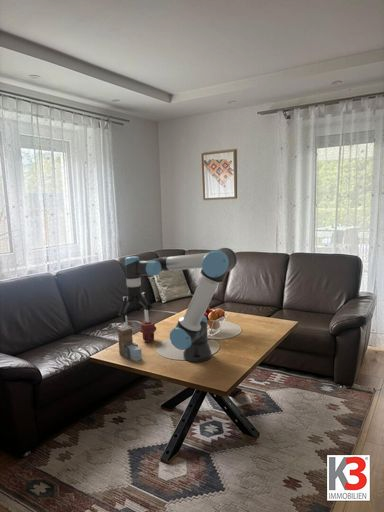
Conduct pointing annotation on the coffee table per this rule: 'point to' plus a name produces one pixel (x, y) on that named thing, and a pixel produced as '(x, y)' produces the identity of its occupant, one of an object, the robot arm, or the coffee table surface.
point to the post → (125, 341)
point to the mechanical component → (148, 331)
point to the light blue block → (134, 352)
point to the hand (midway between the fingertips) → (136, 324)
